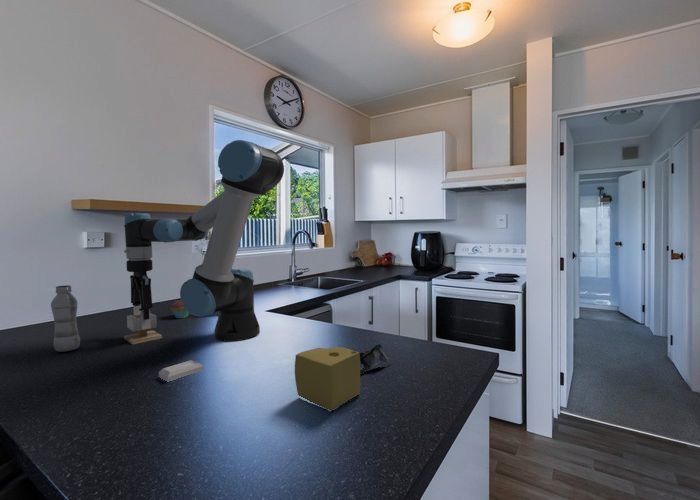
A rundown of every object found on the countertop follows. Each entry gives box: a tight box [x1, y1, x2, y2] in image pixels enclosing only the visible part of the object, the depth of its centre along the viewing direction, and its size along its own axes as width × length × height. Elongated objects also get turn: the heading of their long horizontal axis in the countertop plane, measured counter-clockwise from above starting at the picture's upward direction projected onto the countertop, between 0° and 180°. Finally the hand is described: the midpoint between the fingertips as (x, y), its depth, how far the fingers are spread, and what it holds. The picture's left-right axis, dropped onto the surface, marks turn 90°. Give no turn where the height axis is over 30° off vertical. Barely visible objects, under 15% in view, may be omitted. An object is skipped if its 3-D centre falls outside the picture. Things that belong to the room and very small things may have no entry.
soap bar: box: [158, 359, 204, 383], centre depth 91 cm, size 5×9×3 cm, turn 141°
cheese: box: [294, 346, 361, 410], centre depth 78 cm, size 10×11×10 cm
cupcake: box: [170, 299, 190, 319], centre depth 151 cm, size 9×8×12 cm
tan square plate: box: [123, 329, 163, 345], centre depth 122 cm, size 9×9×7 cm
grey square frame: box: [126, 312, 158, 333], centre depth 122 cm, size 7×7×4 cm
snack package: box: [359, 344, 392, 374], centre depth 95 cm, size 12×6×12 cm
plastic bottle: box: [50, 284, 81, 353], centre depth 110 cm, size 6×7×20 cm
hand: (142, 326), depth 122 cm, fingers closed on grey square frame, 7 cm apart
